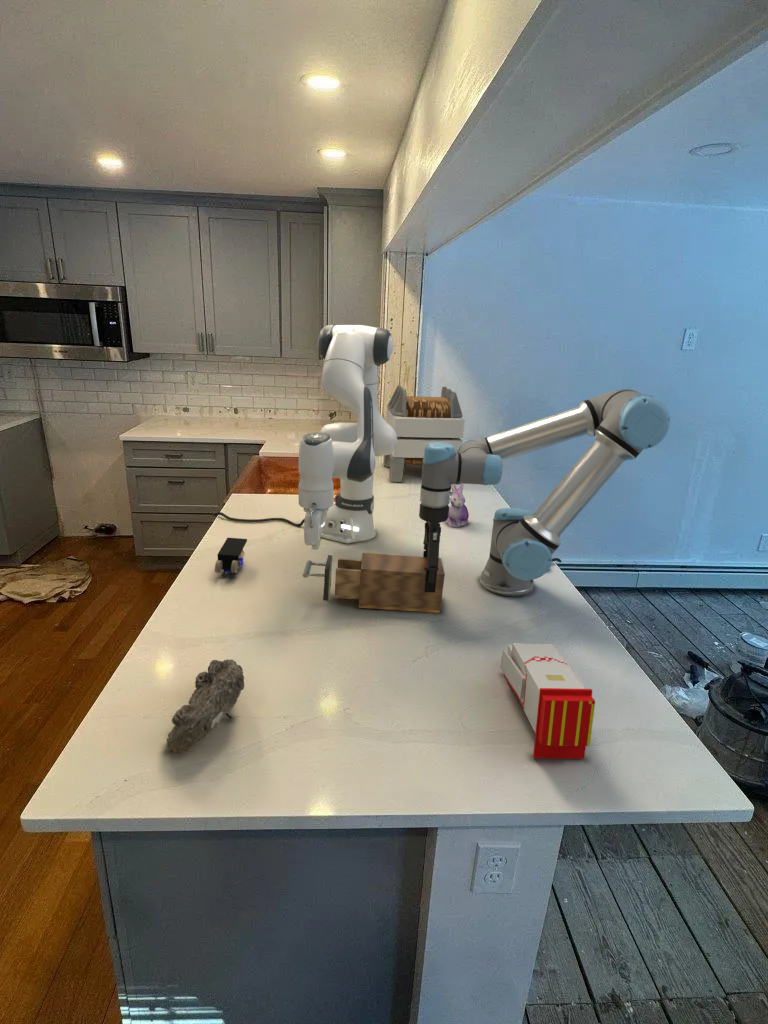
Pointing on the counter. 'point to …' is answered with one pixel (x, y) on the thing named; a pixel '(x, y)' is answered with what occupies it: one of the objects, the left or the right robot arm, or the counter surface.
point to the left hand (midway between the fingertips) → (315, 547)
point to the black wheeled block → (230, 556)
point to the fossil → (206, 705)
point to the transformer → (421, 427)
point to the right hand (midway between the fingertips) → (428, 581)
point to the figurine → (457, 508)
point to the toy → (550, 699)
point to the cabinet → (398, 583)
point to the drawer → (339, 577)
